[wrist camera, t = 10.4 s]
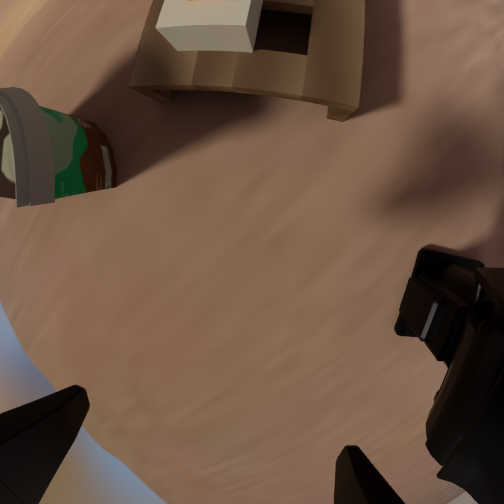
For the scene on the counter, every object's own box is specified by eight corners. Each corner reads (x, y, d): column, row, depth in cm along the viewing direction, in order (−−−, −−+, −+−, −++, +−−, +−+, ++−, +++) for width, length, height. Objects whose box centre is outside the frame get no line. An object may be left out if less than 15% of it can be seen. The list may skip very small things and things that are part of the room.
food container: (147, 101, 17) (46, 59, 7) (133, 189, 18) (23, 208, 9) (33, 110, 17) (-54, 103, 8) (24, 178, 19) (-64, 192, 9)
